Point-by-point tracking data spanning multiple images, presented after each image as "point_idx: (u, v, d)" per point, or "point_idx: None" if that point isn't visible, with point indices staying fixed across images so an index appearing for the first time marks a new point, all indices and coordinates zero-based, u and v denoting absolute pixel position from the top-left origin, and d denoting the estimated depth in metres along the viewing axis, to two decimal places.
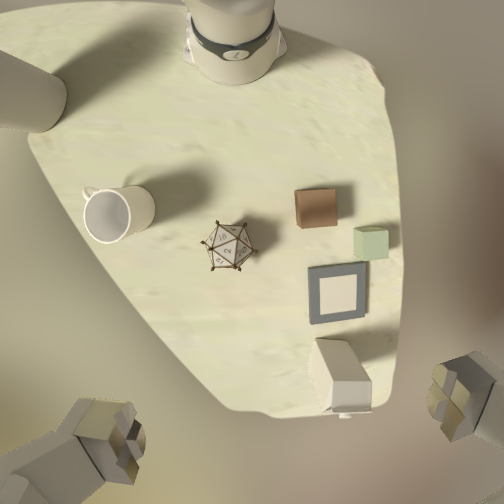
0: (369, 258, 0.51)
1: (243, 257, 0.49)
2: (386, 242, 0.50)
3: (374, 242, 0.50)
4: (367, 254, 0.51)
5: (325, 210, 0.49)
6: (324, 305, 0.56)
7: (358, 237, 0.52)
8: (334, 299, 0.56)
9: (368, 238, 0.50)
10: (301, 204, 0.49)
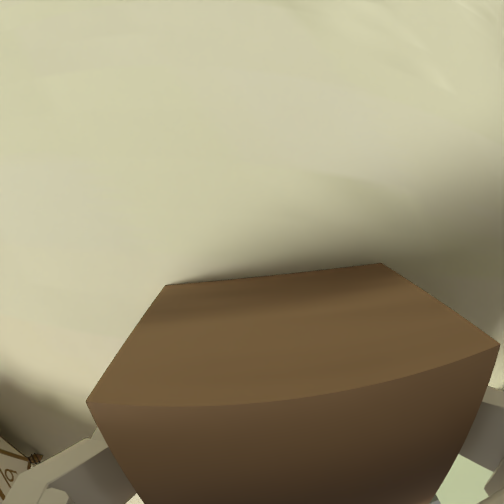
0: None
1: None
2: None
3: None
4: None
5: None
6: None
7: (472, 471, 0.07)
8: None
9: None
10: (144, 488, 0.04)
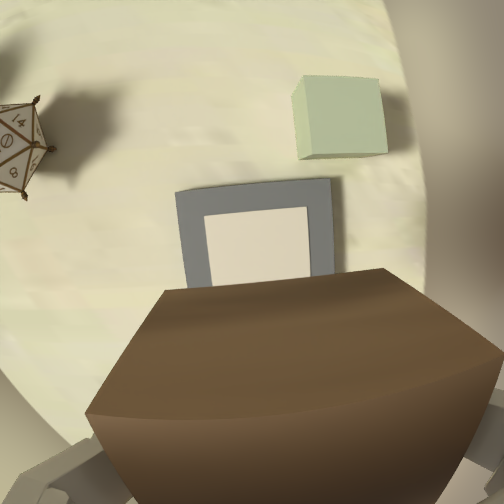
0: (330, 147, 0.17)
1: (6, 158, 0.15)
2: (377, 108, 0.17)
3: (342, 104, 0.17)
4: (324, 135, 0.17)
5: None
6: None
7: (299, 102, 0.19)
8: (249, 273, 0.22)
9: (322, 92, 0.16)
10: (145, 497, 0.04)
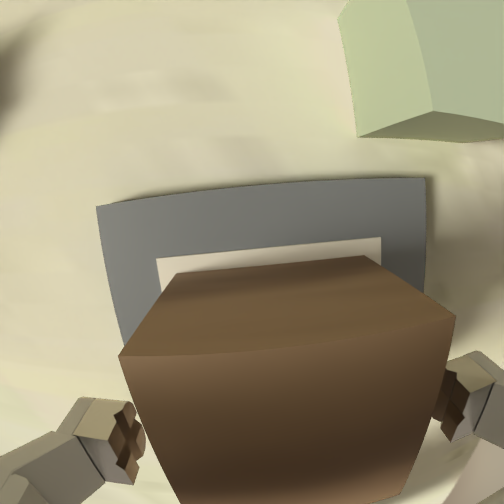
0: (466, 100, 0.05)
1: None
2: None
3: (470, 17, 0.05)
4: (452, 70, 0.05)
5: (347, 464, 0.05)
6: None
7: (368, 11, 0.07)
8: None
9: None
10: (158, 440, 0.05)
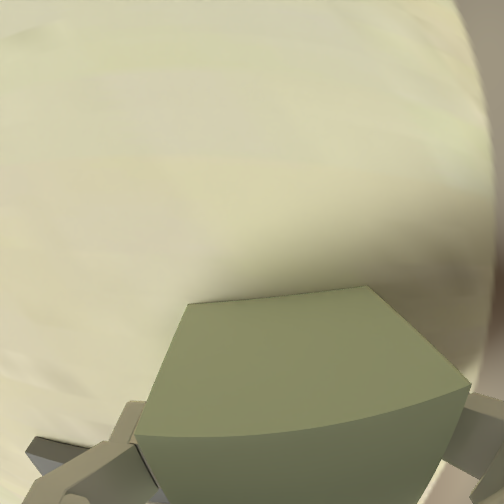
0: None
1: None
2: (420, 472, 0.04)
3: (296, 498, 0.04)
4: None
5: None
6: None
7: None
8: None
9: (221, 481, 0.04)
10: None
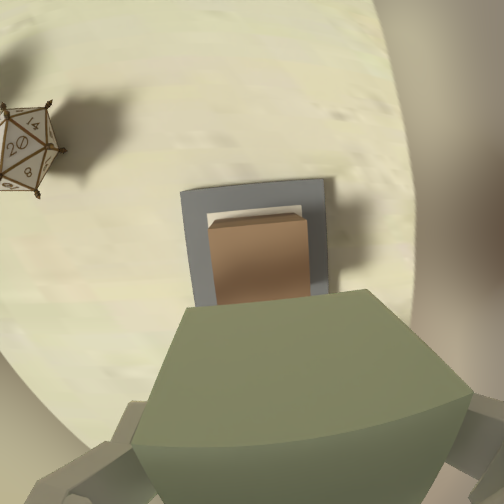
0: None
1: (21, 159, 0.17)
2: (420, 479, 0.04)
3: None
4: None
5: (279, 277, 0.19)
6: None
7: None
8: None
9: (220, 490, 0.04)
10: (215, 262, 0.19)
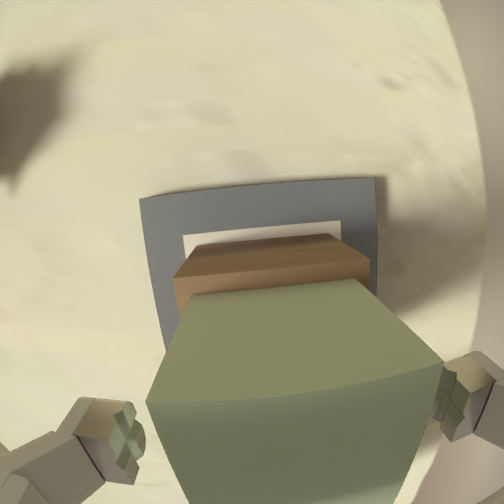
0: None
1: None
2: (403, 447, 0.05)
3: (288, 467, 0.05)
4: None
5: None
6: None
7: None
8: None
9: (221, 447, 0.05)
10: None
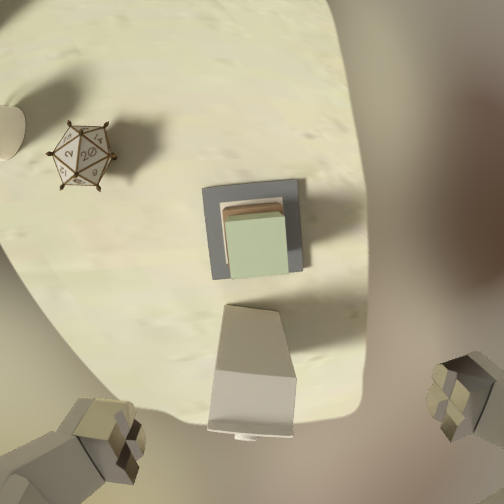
0: (243, 274, 0.27)
1: (91, 163, 0.29)
2: (281, 241, 0.26)
3: (253, 242, 0.26)
4: (239, 266, 0.27)
5: None
6: None
7: None
8: None
9: (238, 234, 0.26)
10: None
